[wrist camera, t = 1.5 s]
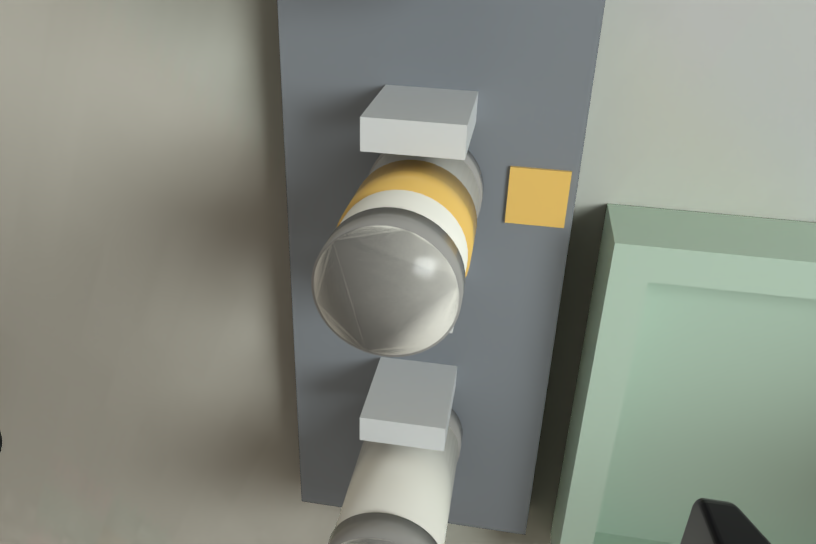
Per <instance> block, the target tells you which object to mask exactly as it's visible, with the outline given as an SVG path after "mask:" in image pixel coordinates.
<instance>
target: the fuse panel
mask: <svg viewBox="0 0 816 544" xmlns="http://www.w3.org/2000/svg"><path fill="white" fill-rule="evenodd" d="M277 4H278V24H279V45H280V65H281V86H282V106H283V126H284V147H285V167H286V188H287V208H288V229H289V249H290V269H291V290H292V310H293V331H294V351H295V372H296V392H297V412H298V433H299V453H300V474H301V494H302V501H304V502H310V503H317V504H324V505H330V506H337V507H342V506H343V503H344V499H345V496H346V493H347V490H348V487H349V484H350V481H351V478H352V475H353V472H354V469H355V466H356V463H357V460H358V457H359V453H360V450H361V447H362V444H363V441H372V442H379V443H386V444H394V445H401V446H408V447H416V448H423V449H430V450H437V451H444V449H445V443H446V437H447V432H448V426H449V421H450V415H451V409H453V410H454V411H455V413H456V414H457V416H458V417H459V419H460V422H461V425H462V430H463V436H462V443H461V449H460V455H459V459H458V462H457V465H456V472H455V478H454V485H453V491H452V498H451V504H450V511H449V517H448V523H451V524H457V525H464V526H471V527H477V528H484V529H491V530H497V531H504V532H511V533H518V534H524V535H525V533H526V526H527V520H528V513H529V506H530V500H531V493H532V486H533V480H534V473H535V466H536V460H537V453H538V446H539V440H540V433H541V426H542V420H543V413H544V406H545V400H546V393H547V386H548V380H549V373H550V366H551V359H552V353H553V346H554V339H555V333H556V326H557V319H558V313H559V306H560V299H561V293H562V286H563V279H564V273H565V266H566V259H567V253H568V246H569V239H570V233H571V226H572V219H573V213H574V206H575V199H576V193H577V186H578V179H579V173H580V166H581V159H582V153H583V146H584V139H585V133H586V126H587V119H588V113H589V106H590V99H591V93H592V86H593V79H594V73H595V66H596V59H597V53H598V46H599V39H600V33H601V26H602V19H603V13H604V6H605V0H277ZM468 150H469V151H470V153H471V154H472V155H473V156H474V158H475V160H476V161H477V163H478V165H479V167H480V170H481V173H482V177H483V184H484V192H483V198H482V203H481V208H480V212H479V216H478V218H477V230H476V236H475V241H474V246H473V251H472V256H471V261H470V266H469V270H468V273H467V276H466V278H465V288H464V294H463V299H462V304H461V309H460V313H459V316H458V319H457V321H456V323H455V325H454V327H453V328H452V330H451V331H450V332H449V334H448V335H447V336H446V337H445V338H444V339H443V340H442V341H440V342H439V343H438V344H437V345H435V346H433V347H432V348H430V349H428V350H426V351H423V352H421V353H418V354H414V355H410V356H404V357H384V356H378V355H374V354H370V353H367V352H364V351H361V350H359V349H357V348H355V347H353V346H351V345H349V344H348V343H346V342H345V341H343V340H342V339H340V338H339V337H338V336H337V335H336V334H335V333H333V331H332V330H331V329H330V328H329V327H328V326H327V325H326V323H325V322H324V321H323V319H322V318H321V316H320V314H319V312H318V310H317V308H316V305H315V303H314V299H313V295H312V288H311V277H312V271H313V267H314V264H315V261H316V259H317V257H318V255H319V253H320V252H321V250H322V248H323V247H324V245H325V243H326V242H327V240H328V239H329V237H330V235H331V234H332V233H333V231H334V230H335V229H336V228H337V225H338V222H339V220H340V218H341V217H342V215H343V213H344V211H345V210H346V208H347V206H348V205H349V203H350V202H351V200H352V198H353V197H354V195H355V193H356V192H357V190H358V188H359V187H360V185H361V184H362V183H363V181H364V180H365V179H366V178H367V177H368V175H369V172H370V170H371V168H372V166H373V165H374V163H375V161H376V160H377V158H378V156H379V155H380V154H381V153H387V154H398V155H410V156H422V157H434V158H445V159H457V160H465V158H466V155H467V151H468Z"/></svg>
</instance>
